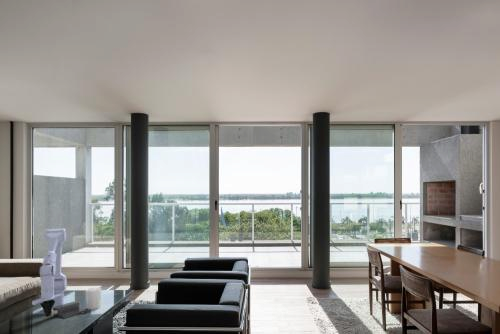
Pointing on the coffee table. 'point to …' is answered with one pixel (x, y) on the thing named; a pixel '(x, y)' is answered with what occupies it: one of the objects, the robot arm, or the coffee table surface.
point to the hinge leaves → (68, 310)
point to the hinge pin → (53, 313)
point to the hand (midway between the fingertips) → (47, 316)
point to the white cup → (93, 298)
